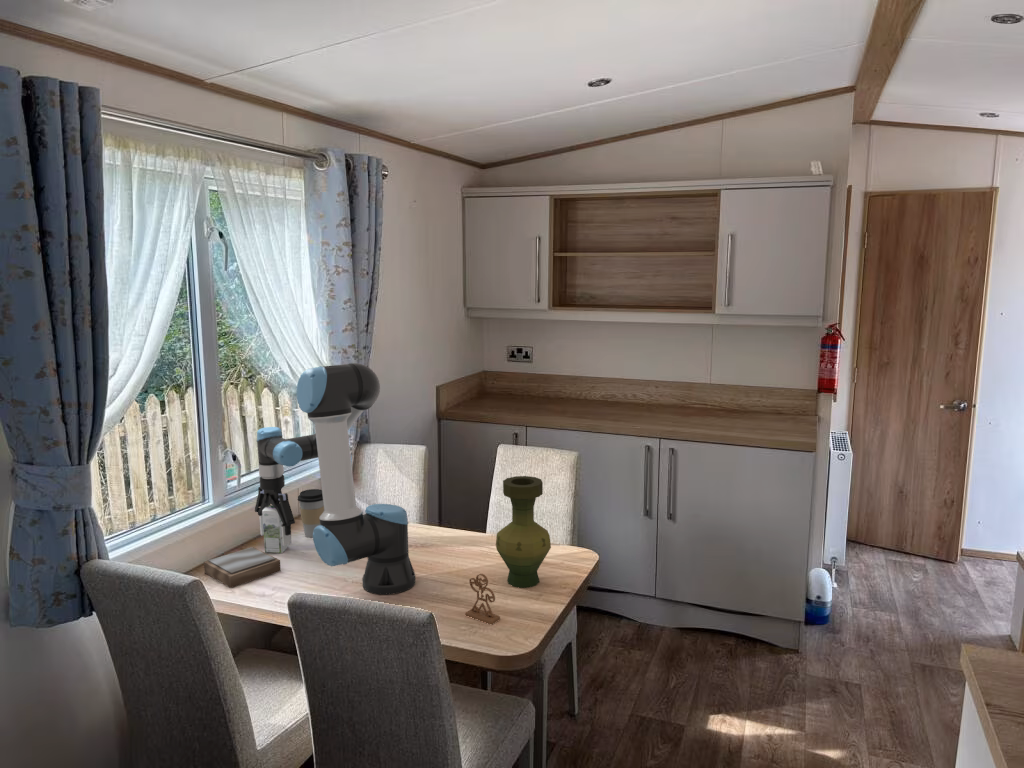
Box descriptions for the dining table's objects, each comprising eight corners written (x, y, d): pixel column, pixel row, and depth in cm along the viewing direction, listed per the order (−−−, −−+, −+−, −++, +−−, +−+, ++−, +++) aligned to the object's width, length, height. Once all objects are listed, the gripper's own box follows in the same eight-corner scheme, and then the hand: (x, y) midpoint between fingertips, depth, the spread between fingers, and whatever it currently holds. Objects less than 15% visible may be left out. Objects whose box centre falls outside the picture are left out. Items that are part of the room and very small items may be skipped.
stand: (280, 570, 229) (279, 558, 229) (230, 587, 218) (229, 574, 217) (253, 557, 240) (252, 545, 239) (204, 572, 228) (203, 560, 228)
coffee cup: (299, 531, 263) (296, 489, 260) (327, 528, 265) (325, 487, 263) (300, 541, 254) (297, 498, 251) (329, 537, 256) (326, 495, 254)
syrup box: (288, 547, 249) (285, 504, 246) (281, 554, 243) (278, 510, 240) (271, 546, 249) (268, 504, 247) (264, 553, 243) (261, 510, 241)
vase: (488, 574, 225) (486, 477, 221) (538, 566, 231) (537, 471, 226) (507, 597, 210) (506, 493, 205) (560, 587, 216) (560, 486, 211)
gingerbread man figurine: (500, 619, 198) (500, 575, 196) (491, 625, 194) (490, 580, 192) (473, 610, 203) (473, 567, 201) (464, 615, 200) (463, 572, 198)
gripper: (303, 480, 236) (307, 545, 240) (262, 466, 253) (266, 527, 256) (282, 485, 231) (286, 552, 234) (241, 471, 247) (245, 533, 251)
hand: (275, 539), depth 245 cm, fingers open, 13 cm apart
